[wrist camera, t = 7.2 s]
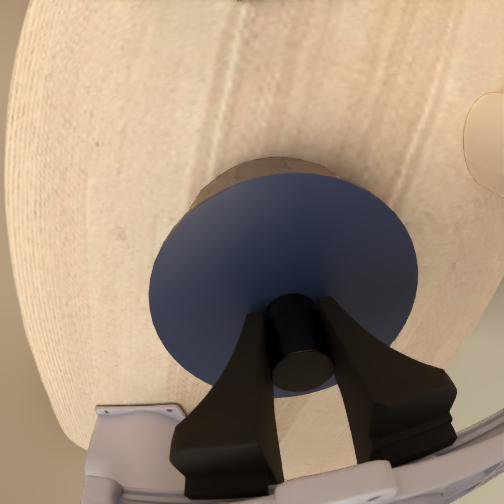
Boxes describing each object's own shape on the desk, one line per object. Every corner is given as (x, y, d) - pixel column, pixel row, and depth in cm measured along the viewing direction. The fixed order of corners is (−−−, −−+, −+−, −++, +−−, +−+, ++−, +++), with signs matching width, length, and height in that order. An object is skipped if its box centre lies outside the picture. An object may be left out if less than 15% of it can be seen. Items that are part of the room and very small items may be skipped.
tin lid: (200, 396, 18) (195, 459, 14) (114, 206, 12) (65, 259, 8) (398, 356, 17) (426, 412, 13) (407, 146, 12) (475, 175, 8)
